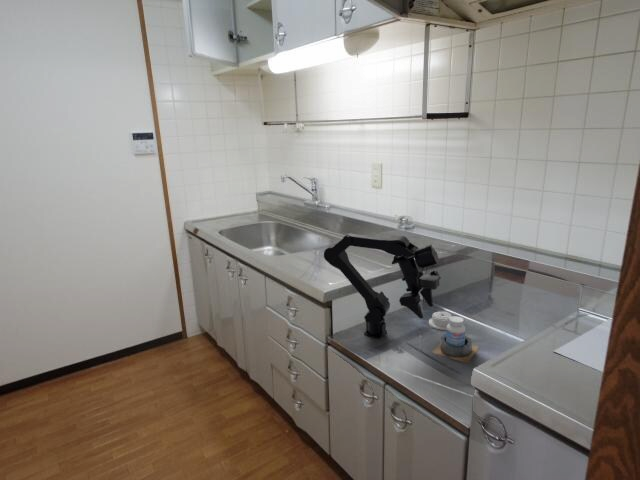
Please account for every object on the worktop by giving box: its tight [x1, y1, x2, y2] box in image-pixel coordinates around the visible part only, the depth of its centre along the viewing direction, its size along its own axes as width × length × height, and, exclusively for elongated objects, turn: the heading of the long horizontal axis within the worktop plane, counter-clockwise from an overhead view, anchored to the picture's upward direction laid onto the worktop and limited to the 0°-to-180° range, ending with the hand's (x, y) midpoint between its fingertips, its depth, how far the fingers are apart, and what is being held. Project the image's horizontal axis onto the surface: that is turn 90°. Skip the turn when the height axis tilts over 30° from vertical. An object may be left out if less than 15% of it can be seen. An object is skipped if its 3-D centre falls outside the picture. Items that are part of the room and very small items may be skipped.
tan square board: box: [431, 343, 480, 364], centre depth 136 cm, size 12×12×1 cm
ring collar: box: [439, 334, 473, 358], centre depth 135 cm, size 10×10×4 cm
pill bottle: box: [445, 315, 466, 346], centre depth 134 cm, size 6×6×11 cm
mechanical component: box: [428, 311, 453, 331], centre depth 154 cm, size 10×4×10 cm
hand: (426, 312), depth 140 cm, fingers open, 9 cm apart
